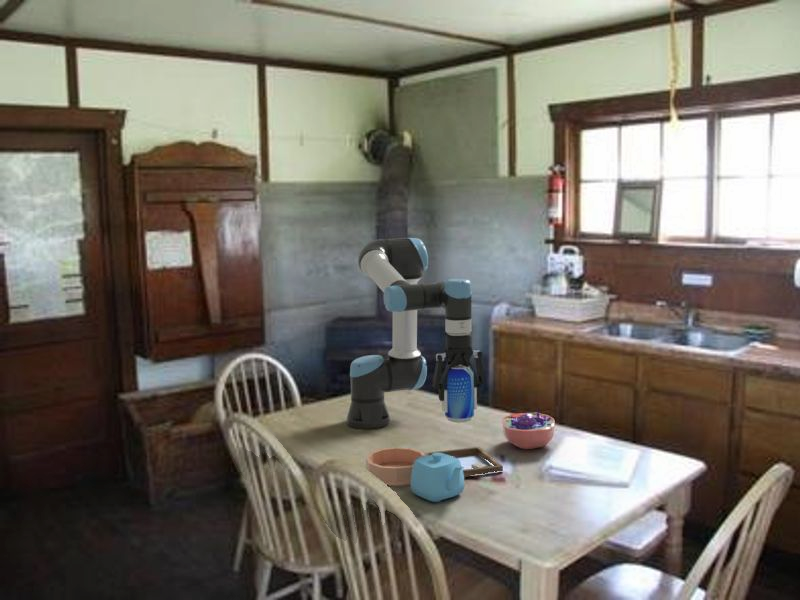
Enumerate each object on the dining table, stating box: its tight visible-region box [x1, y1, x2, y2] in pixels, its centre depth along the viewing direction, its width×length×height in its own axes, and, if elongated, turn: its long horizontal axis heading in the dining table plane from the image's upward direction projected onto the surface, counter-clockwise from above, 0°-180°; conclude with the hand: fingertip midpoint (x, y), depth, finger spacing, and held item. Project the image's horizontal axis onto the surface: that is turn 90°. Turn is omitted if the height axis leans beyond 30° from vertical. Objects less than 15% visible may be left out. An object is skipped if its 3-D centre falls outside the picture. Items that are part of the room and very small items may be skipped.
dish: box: [365, 446, 426, 487], centre depth 220 cm, size 18×18×5 cm
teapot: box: [410, 453, 466, 503], centre depth 203 cm, size 12×18×12 cm
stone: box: [471, 462, 488, 469], centre depth 221 cm, size 4×3×2 cm
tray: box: [423, 446, 504, 479], centre depth 225 cm, size 18×18×2 cm
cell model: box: [501, 411, 556, 450], centre depth 241 cm, size 17×20×11 cm
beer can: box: [444, 365, 475, 423], centre depth 222 cm, size 8×8×16 cm
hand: (459, 409), depth 223 cm, fingers closed on beer can, 8 cm apart
